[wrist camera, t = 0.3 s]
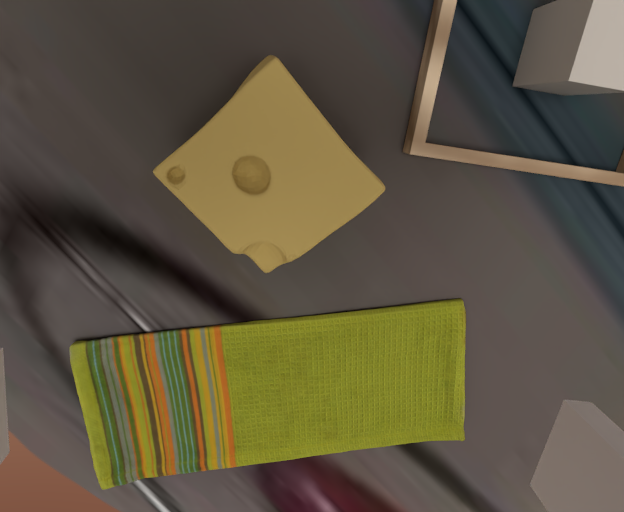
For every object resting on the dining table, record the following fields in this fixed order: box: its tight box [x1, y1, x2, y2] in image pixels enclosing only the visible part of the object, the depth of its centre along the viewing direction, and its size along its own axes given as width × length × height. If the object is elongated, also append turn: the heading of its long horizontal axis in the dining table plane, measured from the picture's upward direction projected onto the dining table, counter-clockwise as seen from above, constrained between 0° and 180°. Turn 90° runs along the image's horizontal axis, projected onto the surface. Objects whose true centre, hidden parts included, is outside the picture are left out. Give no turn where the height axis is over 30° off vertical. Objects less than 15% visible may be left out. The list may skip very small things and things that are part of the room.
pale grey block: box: [513, 0, 624, 95], centre depth 31 cm, size 6×4×7 cm
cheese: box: [153, 55, 385, 273], centre depth 30 cm, size 10×11×10 cm
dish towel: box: [69, 298, 466, 490], centre depth 41 cm, size 15×36×3 cm, turn 95°
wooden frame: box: [403, 0, 624, 186], centre depth 33 cm, size 18×20×2 cm
